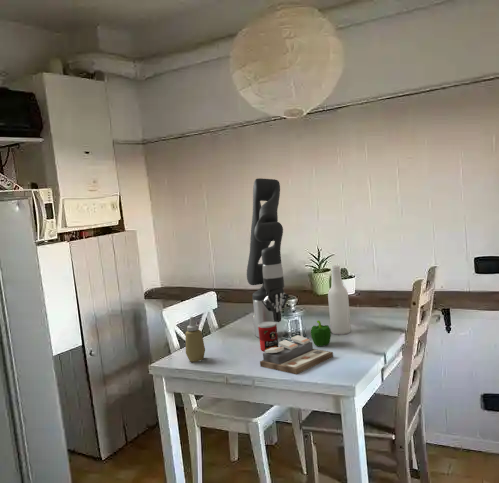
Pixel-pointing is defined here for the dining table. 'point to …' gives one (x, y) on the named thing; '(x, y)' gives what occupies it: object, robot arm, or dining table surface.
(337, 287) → the alcohol
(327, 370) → the dining table surface
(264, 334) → the canned food
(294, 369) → the switch box
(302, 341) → the rocker
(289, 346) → the rocker
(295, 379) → the dining table surface
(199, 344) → the squeeze bottle
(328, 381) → the dining table surface
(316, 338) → the bell pepper
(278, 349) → the rocker
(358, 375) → the dining table surface
